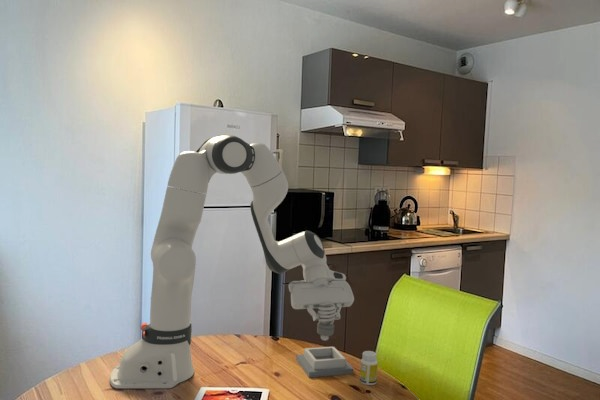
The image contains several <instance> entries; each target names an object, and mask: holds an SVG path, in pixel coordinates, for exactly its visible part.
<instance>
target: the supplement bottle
mask: <svg viewBox="0 0 600 400" xmlns="http://www.w3.org/2000/svg"><path fill="white" fill-rule="evenodd" d="M377 355H378V354H377V353H376V352H375V351H372V350H364V351H363V352H362V358H361V359H360V373H359V382H360V383H361V384H363V385H365V386H374V385H376V384H377V381H378V363H379V362H378V359H377Z"/></svg>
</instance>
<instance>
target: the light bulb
mask: <svg viewBox="0 0 600 400" xmlns="http://www.w3.org/2000/svg"><path fill="white" fill-rule="evenodd" d="M320 306H321V307H318V308H317V309H318V310H317V313H318V314H319V320H318V321H317V323H316V325H317V326H316V334H318V335H320V339H321V340H322V341H323V342H327V341H329V338H330V337H331V336H333V335H334V333H335V323H334V322H335V317H336V316H335V315H336V312H337V310H336V308H335V305H334V304H332V303H330V302H328V303H320ZM322 306H328V307H330V308H328V307H322Z"/></svg>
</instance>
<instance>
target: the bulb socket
mask: <svg viewBox="0 0 600 400" xmlns="http://www.w3.org/2000/svg"><path fill="white" fill-rule="evenodd" d="M295 360H296V361H297V363H298V365H299V366H300V367H301V368H302V369H303V372H304V373H305V374H306V376H307V377H308V378H318V377H319V378H320V377H328V376H331V377H332V376H341V375H350V374H354V367H353V366H352V365H351V364H350V363H348V361H347V359H346V358H345V356H343V354H342V353H341V352H340V351H339V350H338V349H337V348H336V347H335V346H322V347H308V348H307V347H306V348H303V354H296V356H295Z"/></svg>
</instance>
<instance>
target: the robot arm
mask: <svg viewBox="0 0 600 400" xmlns="http://www.w3.org/2000/svg"><path fill="white" fill-rule="evenodd" d="M216 173H218V174H225V175H230V174H231V175H232V174H238V173H242V175H243V176H244V177H245V178H246V181H247V182H248V184H249V187H250V189H251V191H252V201H251V203H250V207H249V208H250V212H251V217H252V220H253V224H254V226H255V230H256V234H257V236H258V238H259V239H258V240H259V241H260V245H261V247H262V251H263V255H264V259H265V262H266V265H267V268H268V269H269V271H271V272H273V273H276V274H280V275H282V274H284V273H286V272H288V271H290V270H292V269H294V268H296V267H299V266H301V268H302V276H303V280H292V281H291V282H289V283H288V285H287V287H288V291H289V293H290V304H291V307H292V309H294V310H305V309H306V310H307V312H308V314H309V315H310V316H311V317H312V320H313V322H319V318H320V317H319V313H318V312H316V311H315V310H314V309H318V307H321V306H320V303H328V302H330V303H332V304H334V305H335V308H336V315H335V316H336V317H335V319H334V321H335V320H341V309H342V308H347V307H348V308H350V307H352V305H353V303H354V301H355V296H354V293H353V291H352V287H351V286H350V284H349V283H348V281H346V280H347V276H346V274H345V273H342V272H338V271H335V270H332V269H330V267H329V266H328V264H327V261H328V260H327V256H326V252H325V247H324V243H323V241H322V239H321V238H320V236H319V235H318V234H316V233H315V232H312V231H311V230H305V231H301V232H298V233H296V234H293V235H291V236H289V237H286V238H285V239H282V240H279V241H278V240H275V237H274V233H273V231H272V228H271V225H270V222H269V216H270V215H271V214H272V212H273V211H274V210H276V209H277V208H278V206H279V205H281V204H282V202H283V201H284V199H285V198H286V195H287V194H288V190H289V182H288V179H287V176H286V174H285V172H284V170H283V168H282V167H281V165H280V163H279V162H278V160H277V157H275V155H274V154H273V151H272V150H271V149H270V148H269V147H268V146H267V145H266V144H264V143H262V142H253V143H251V144H249V143H248V142H246V141H244V140H243V139H242V138H241V137H238V136H236V135H230V134H229V135H226V134H222V135H216V136H212V137H210V138H208V139H207V140H205V141H204V142H203V143H202V144H201V145H200V146H199V147H198V149H197V150H195V151H194V150H187V151H182V152H180V154H178V155H177V157H176V159H175V161H174V163H173V166H172V169H171V171H170V174H169V176H168V177H169V178H168V181H167V185H166V190H165V195H164V199H163V204H162V208H161V213H160V217H159V220H158V224H157V228H156V230H155V234H154V237H153V242H152V246H151V249H150V259H151V262H152V268H153V270H152V285H151V293H150V294H151V296H150V309H149V310H150V312H149V314H150V315H149V316H150V317H149V324H148V323H147V322H142V324H141V326H140V330H141V338H140V339H139V340H138V341H136V342H135V343H134V344H132V345H131V346H129V347H128V348H126V350H124V352H123V353H122V356H121V358H120V362H119V364H118V365H116V366H115V367H114V368H113V369H112V370H111V372H110V377H109V383H110V385H111V386H112V388H114V389H172V388H174V387H175V386H177V385H178V384H180V383H182V382H185V381H187V380H188V379H191V377H193V375H194V374H195V368H194V365H193V360H192V352H191V351H192V350H191V344H192V343H191V342H192V337H193V328H192V327H193V326H192V322H191V309H192V294H193V288H194V281H195V274H196V264H197V261H196V260H197V258H196V254H195V251H194V249H193V243H194V239H195V236H196V234H197V231H198V229H199V227H200V226H199V225H200V223H201V221H202V217H203V214H204V213H203V212H204V207H205V202H206V199H207V194H208V188H209V183H210V181H211V179H212V178H213V176H214V175H215V174H216ZM322 307H328V306H322ZM328 308H330V307H328Z"/></svg>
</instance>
